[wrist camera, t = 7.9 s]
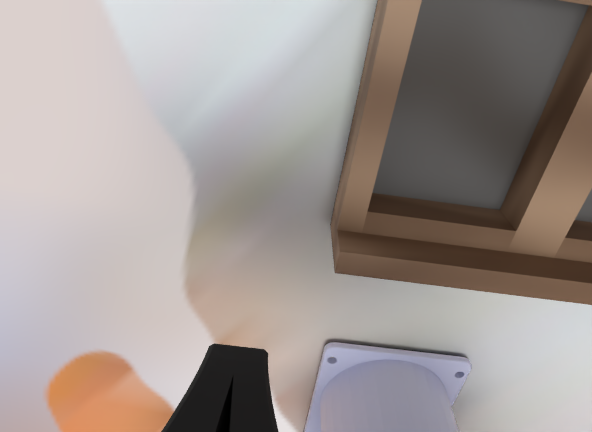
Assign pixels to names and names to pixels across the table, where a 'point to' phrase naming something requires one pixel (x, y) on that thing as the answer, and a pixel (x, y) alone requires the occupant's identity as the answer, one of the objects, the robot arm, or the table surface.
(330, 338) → the table surface
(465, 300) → the table surface
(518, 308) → the table surface
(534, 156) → the wooden frame
